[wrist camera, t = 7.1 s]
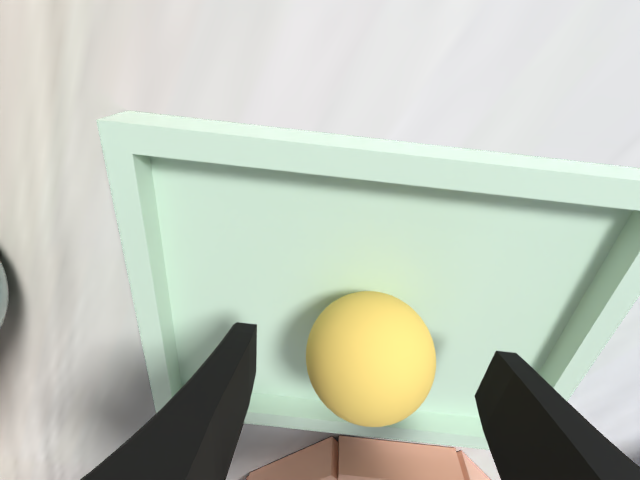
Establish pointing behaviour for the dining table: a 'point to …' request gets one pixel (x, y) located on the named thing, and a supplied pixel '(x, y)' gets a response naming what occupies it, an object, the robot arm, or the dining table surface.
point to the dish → (371, 462)
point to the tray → (366, 257)
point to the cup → (3, 294)
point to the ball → (370, 359)
